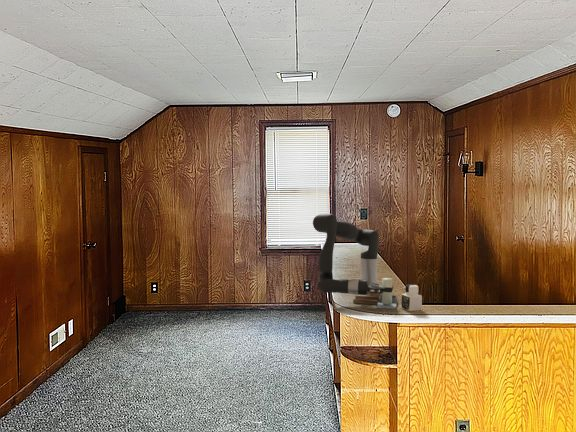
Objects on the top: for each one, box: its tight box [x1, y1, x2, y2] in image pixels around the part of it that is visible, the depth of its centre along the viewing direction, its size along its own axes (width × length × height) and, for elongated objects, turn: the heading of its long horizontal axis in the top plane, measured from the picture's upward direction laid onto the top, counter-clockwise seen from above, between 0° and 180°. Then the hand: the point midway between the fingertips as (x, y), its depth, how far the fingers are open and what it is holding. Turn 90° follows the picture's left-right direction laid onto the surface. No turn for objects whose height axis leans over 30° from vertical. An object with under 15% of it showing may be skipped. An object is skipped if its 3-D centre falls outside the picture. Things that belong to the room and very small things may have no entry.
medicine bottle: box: [401, 283, 423, 312], centre depth 289 cm, size 7×7×12 cm
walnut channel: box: [352, 295, 380, 305], centre depth 305 cm, size 9×12×2 cm
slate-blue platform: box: [376, 301, 398, 310], centre depth 294 cm, size 8×9×1 cm
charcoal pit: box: [378, 294, 398, 304], centre depth 302 cm, size 8×8×3 cm
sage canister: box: [381, 277, 393, 304], centre depth 294 cm, size 5×5×12 cm
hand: (392, 288), depth 293 cm, fingers closed on sage canister, 5 cm apart
